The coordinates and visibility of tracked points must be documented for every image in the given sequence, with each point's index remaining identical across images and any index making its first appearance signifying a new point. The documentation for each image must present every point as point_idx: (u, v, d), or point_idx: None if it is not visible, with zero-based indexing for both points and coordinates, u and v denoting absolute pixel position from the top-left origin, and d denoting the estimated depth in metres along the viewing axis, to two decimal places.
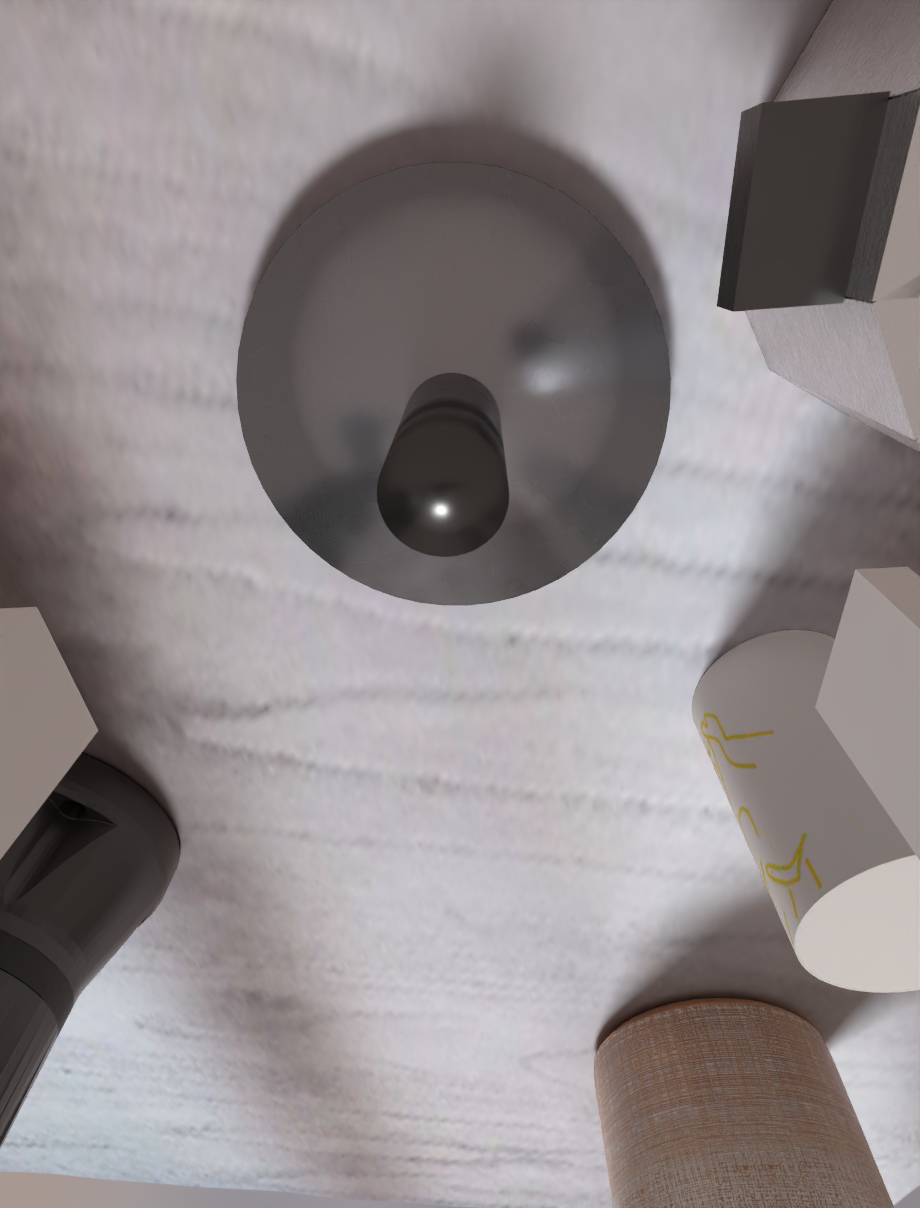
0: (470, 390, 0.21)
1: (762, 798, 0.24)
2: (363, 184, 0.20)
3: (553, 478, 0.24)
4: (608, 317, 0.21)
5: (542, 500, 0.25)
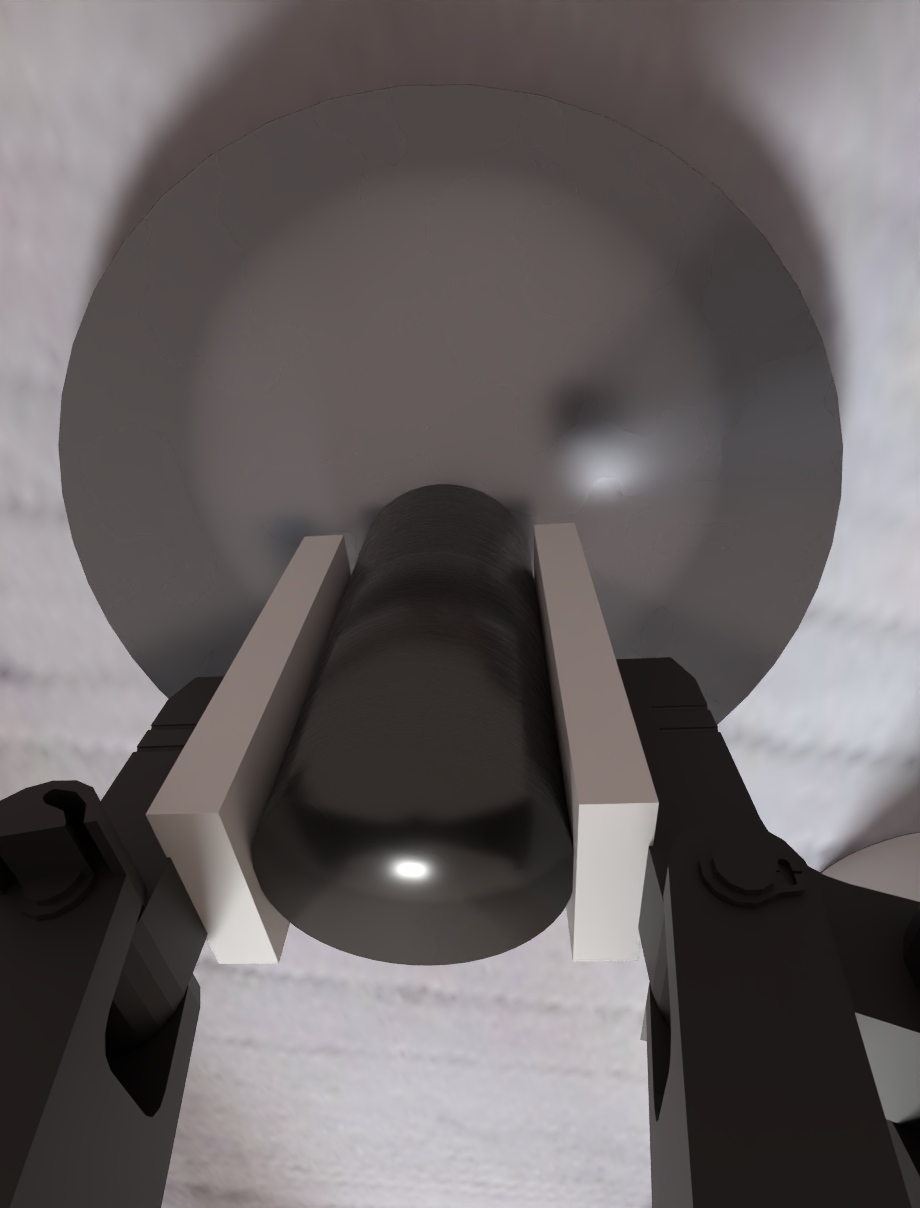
0: (478, 537, 0.11)
1: None
2: (261, 133, 0.10)
3: (618, 648, 0.14)
4: (738, 390, 0.11)
5: None
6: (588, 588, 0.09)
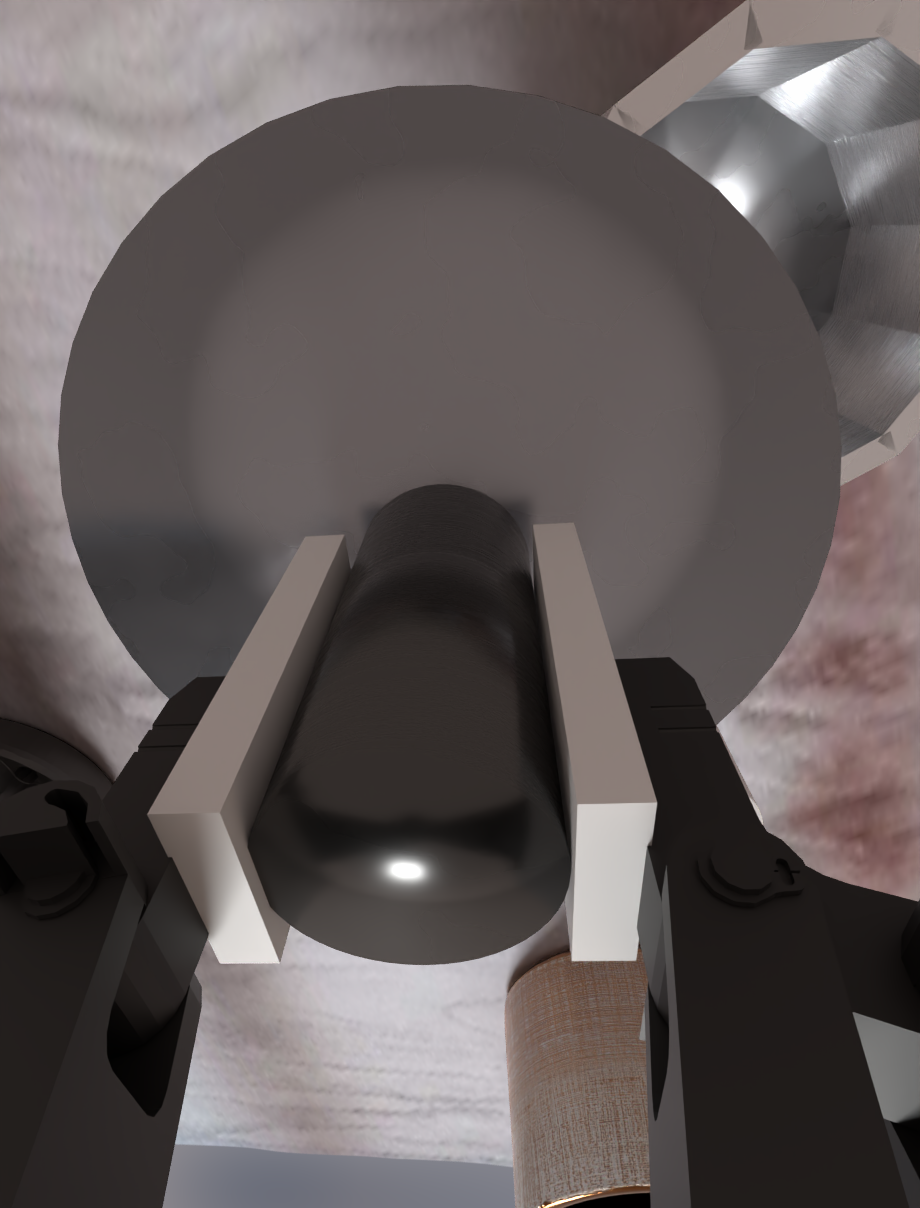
0: (476, 537, 0.11)
1: None
2: (260, 134, 0.10)
3: (617, 649, 0.14)
4: (736, 391, 0.11)
5: None
6: (587, 588, 0.09)
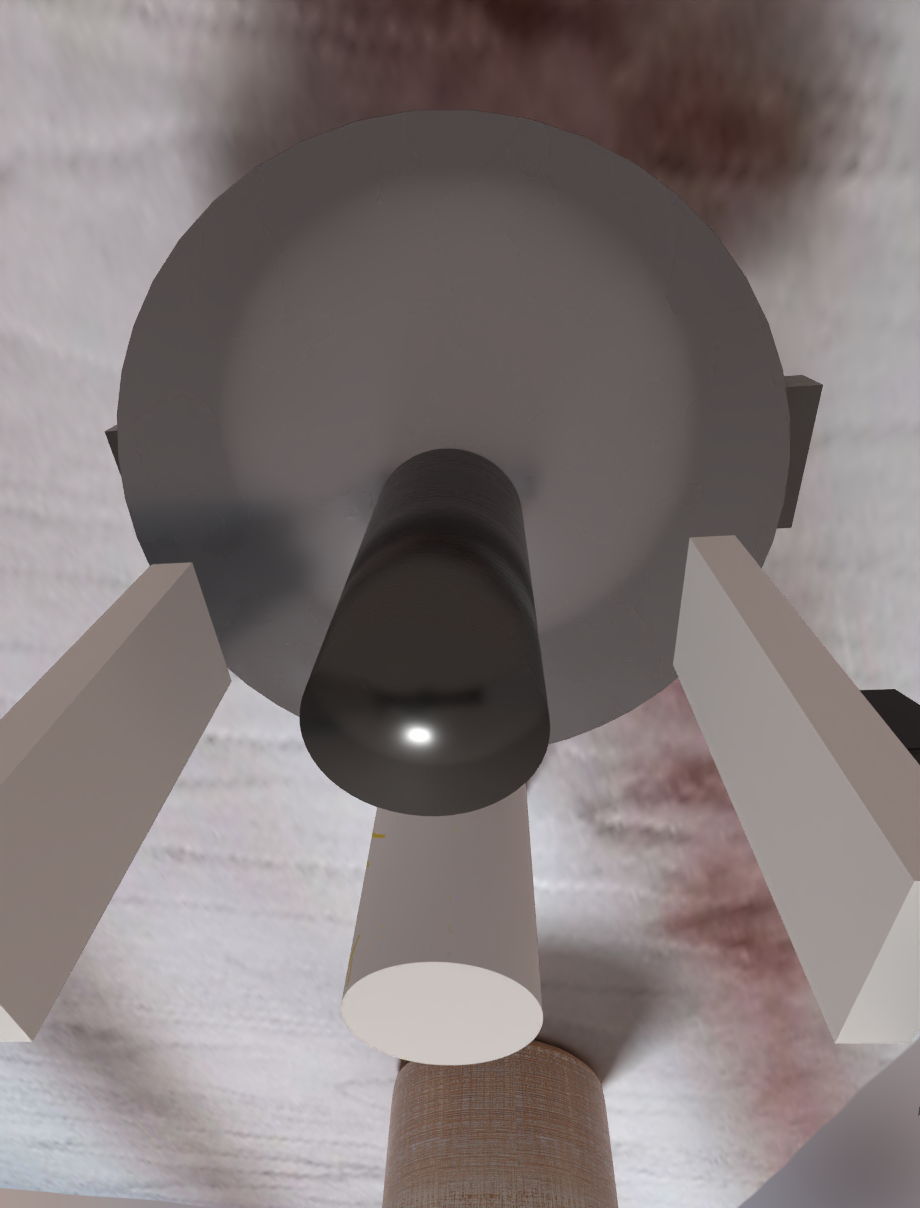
0: (477, 488, 0.13)
1: (361, 896, 0.28)
2: (297, 149, 0.12)
3: (600, 597, 0.16)
4: (698, 366, 0.13)
5: (582, 626, 0.17)
6: (789, 611, 0.09)
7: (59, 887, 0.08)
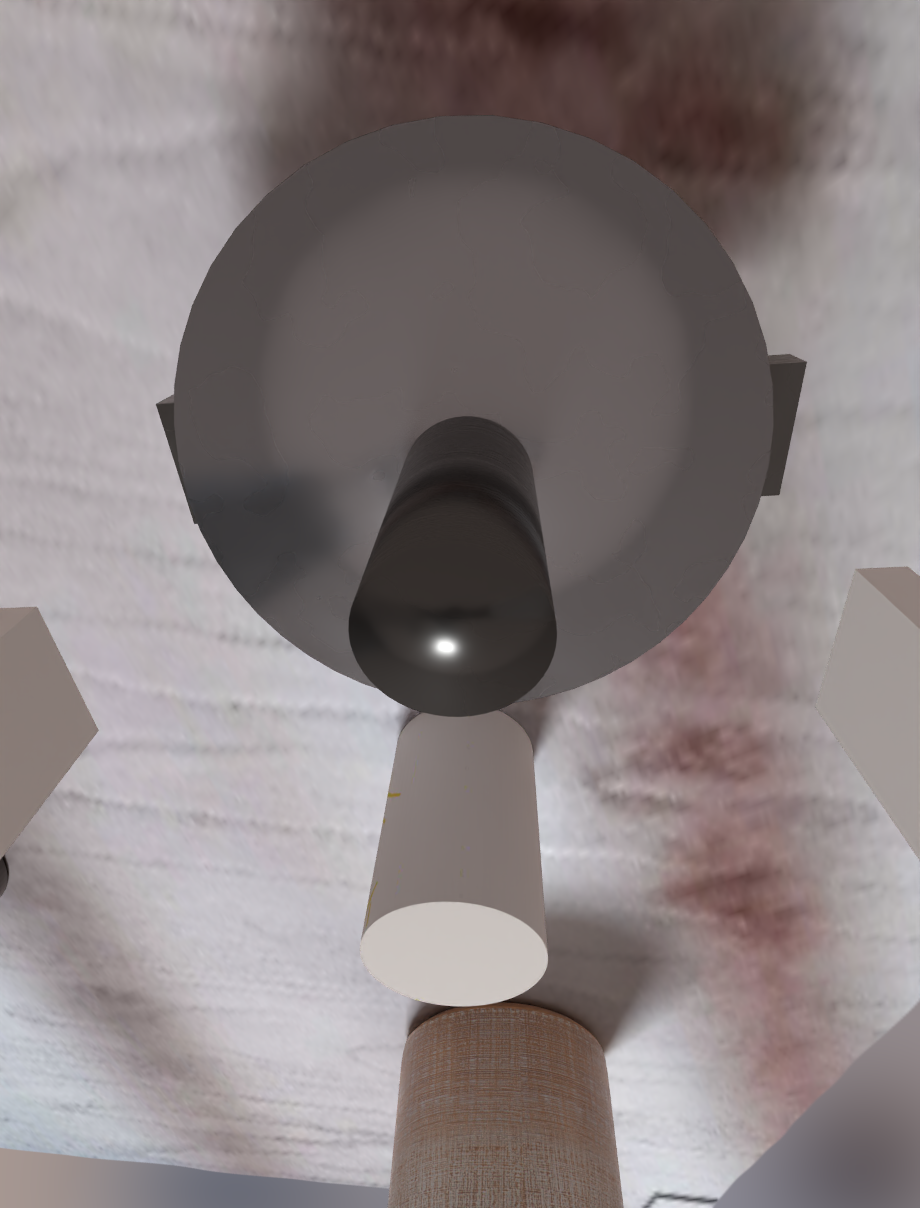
0: (494, 448, 0.14)
1: (378, 849, 0.30)
2: (341, 150, 0.13)
3: (603, 554, 0.18)
4: (691, 341, 0.15)
5: (586, 581, 0.19)
6: None
7: None
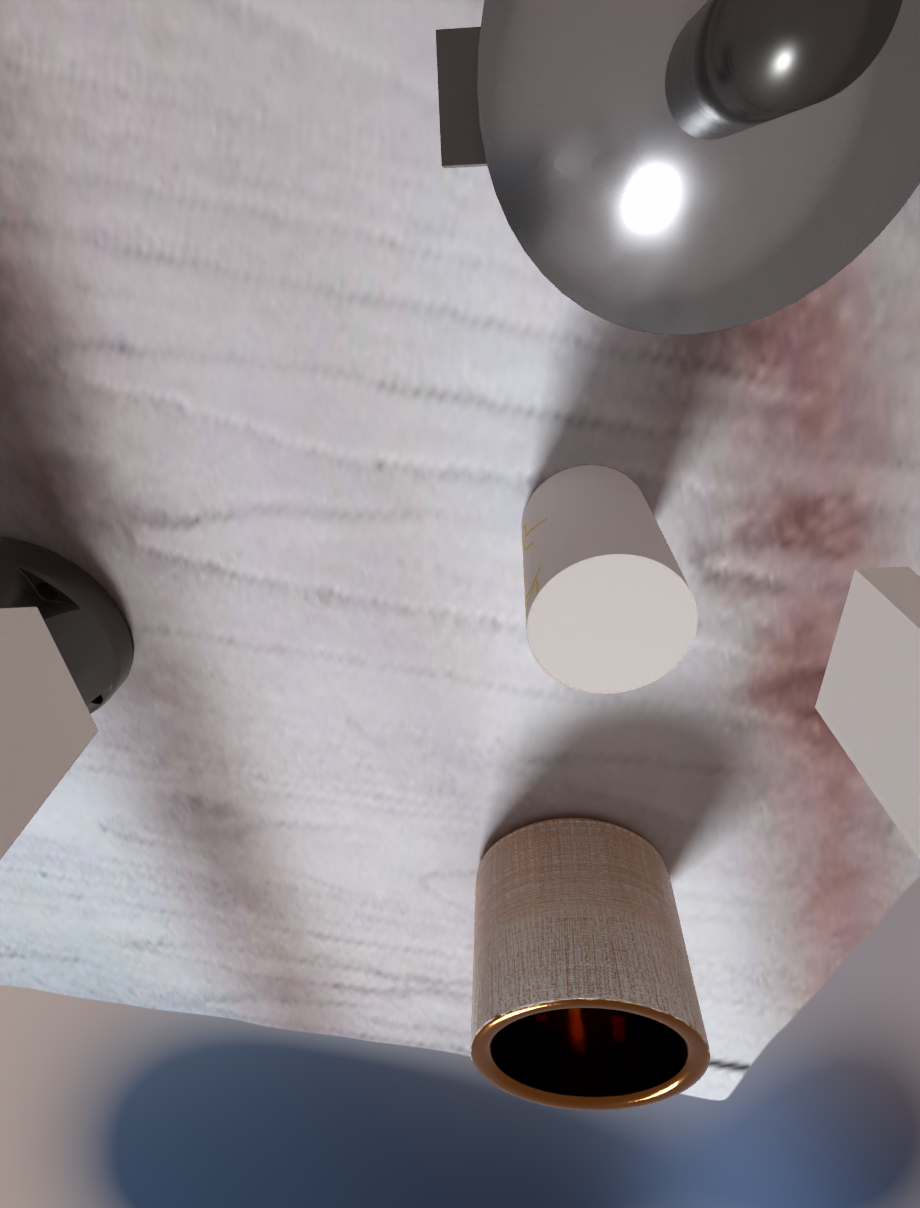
0: None
1: (530, 559, 0.34)
2: None
3: (822, 156, 0.21)
4: None
5: (802, 187, 0.22)
6: None
7: None
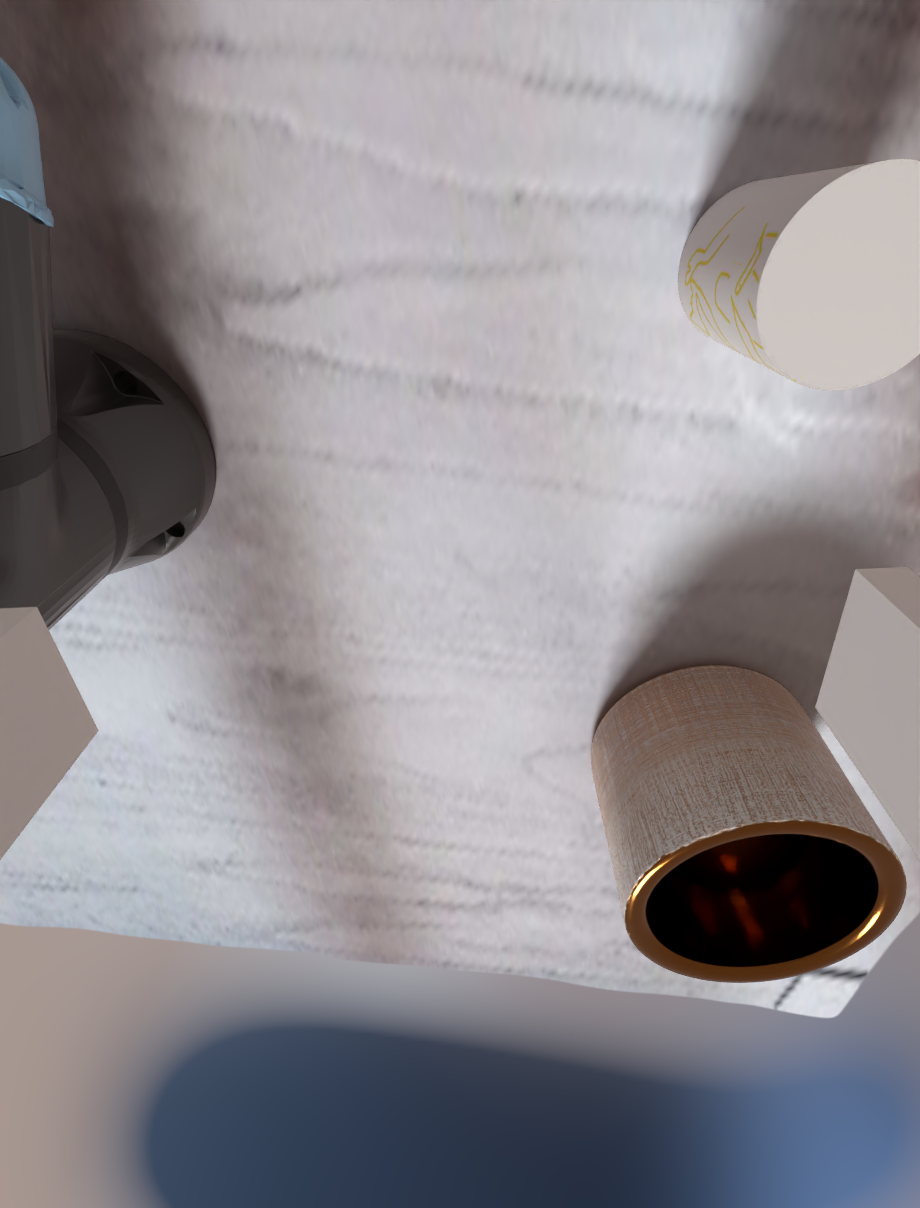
0: None
1: (733, 245, 0.28)
2: None
3: None
4: None
5: None
6: None
7: None
